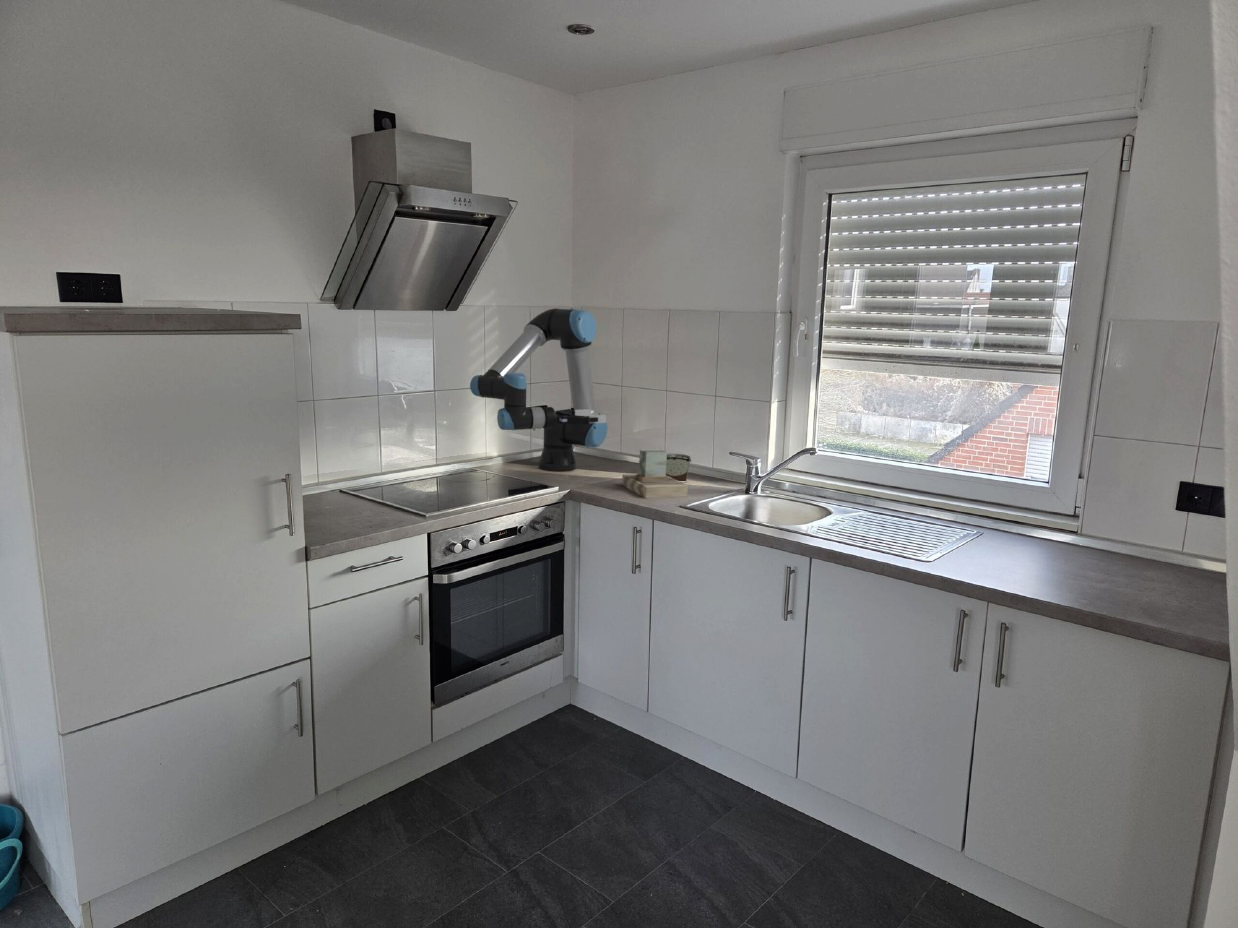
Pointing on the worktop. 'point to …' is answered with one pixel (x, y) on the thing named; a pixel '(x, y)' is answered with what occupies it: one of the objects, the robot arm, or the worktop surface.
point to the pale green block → (652, 465)
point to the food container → (677, 466)
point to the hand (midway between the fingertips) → (598, 415)
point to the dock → (655, 487)
